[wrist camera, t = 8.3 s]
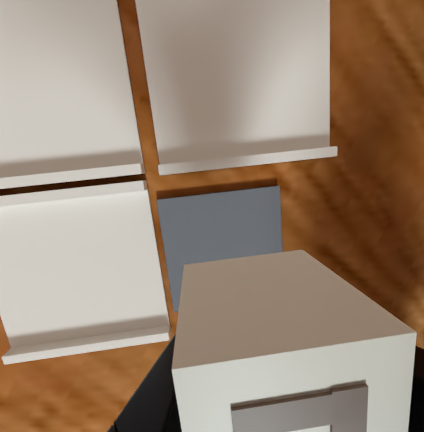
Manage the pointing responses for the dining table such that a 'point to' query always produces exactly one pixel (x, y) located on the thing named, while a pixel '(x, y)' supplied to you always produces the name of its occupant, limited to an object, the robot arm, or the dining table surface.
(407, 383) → the letter cube
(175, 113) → the tray
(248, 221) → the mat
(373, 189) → the dining table surface
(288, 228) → the dining table surface
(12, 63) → the tray
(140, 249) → the tray
